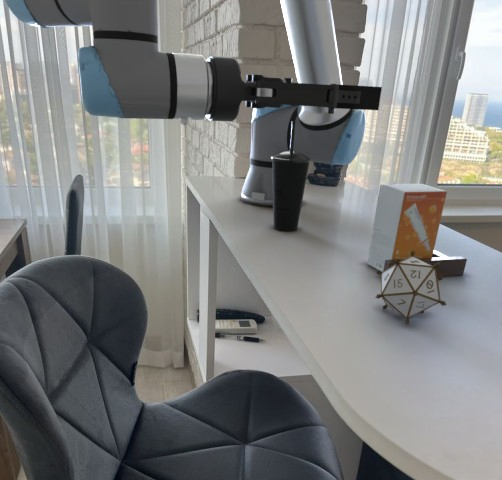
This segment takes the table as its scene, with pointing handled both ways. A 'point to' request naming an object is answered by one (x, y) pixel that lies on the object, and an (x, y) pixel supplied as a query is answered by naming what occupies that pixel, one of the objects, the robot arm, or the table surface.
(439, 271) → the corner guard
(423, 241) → the small box
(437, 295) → the game die
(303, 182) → the drinking cup
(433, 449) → the table surface
